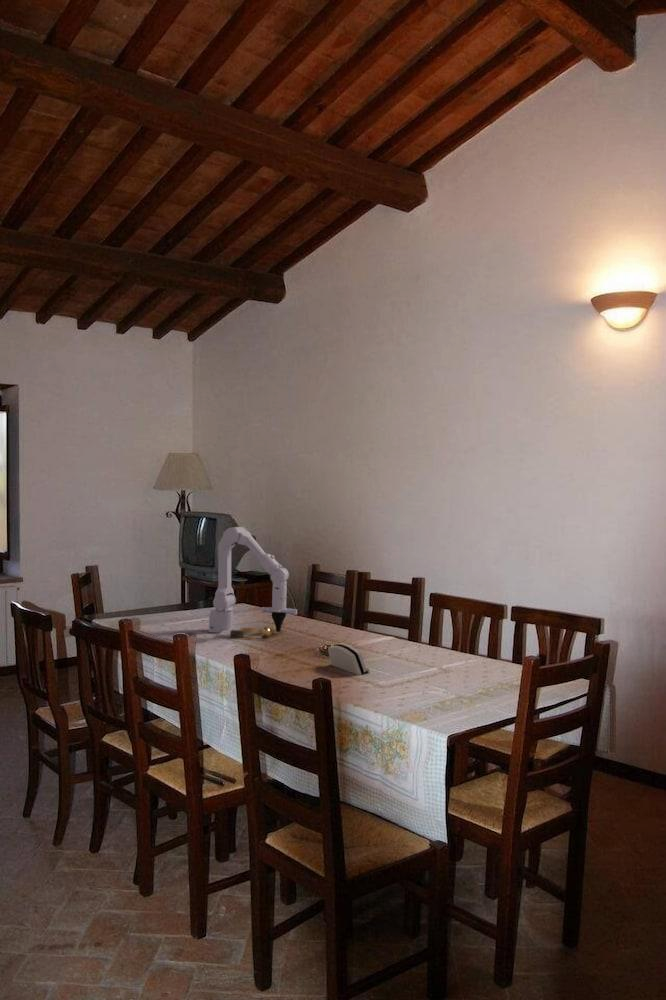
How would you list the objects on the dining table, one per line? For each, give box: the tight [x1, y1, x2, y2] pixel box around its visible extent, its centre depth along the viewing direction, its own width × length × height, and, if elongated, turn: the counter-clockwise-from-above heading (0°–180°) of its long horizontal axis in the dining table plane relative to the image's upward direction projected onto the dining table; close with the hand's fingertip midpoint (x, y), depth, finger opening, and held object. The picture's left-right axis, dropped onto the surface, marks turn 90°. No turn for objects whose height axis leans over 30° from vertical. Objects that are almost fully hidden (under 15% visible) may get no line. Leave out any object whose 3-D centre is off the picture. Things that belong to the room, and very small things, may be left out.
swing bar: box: [261, 623, 276, 637], centre depth 337 cm, size 14×3×3 cm, turn 170°
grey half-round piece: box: [327, 642, 371, 676], centre depth 288 cm, size 17×5×10 cm, turn 35°
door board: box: [225, 627, 287, 642], centre depth 337 cm, size 19×23×4 cm
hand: (278, 631), depth 339 cm, fingers closed
